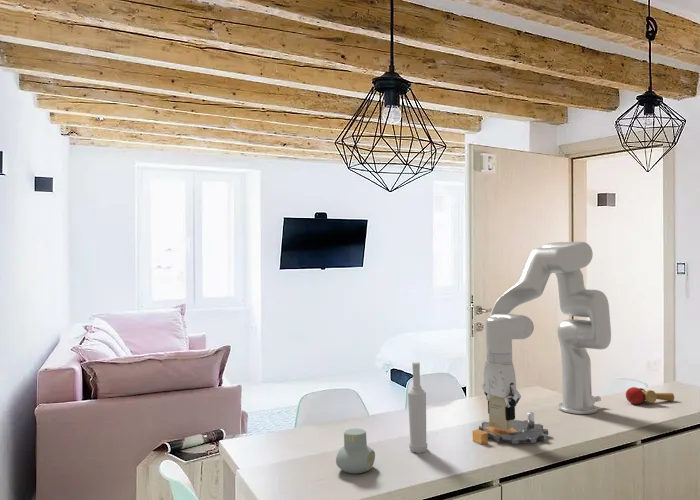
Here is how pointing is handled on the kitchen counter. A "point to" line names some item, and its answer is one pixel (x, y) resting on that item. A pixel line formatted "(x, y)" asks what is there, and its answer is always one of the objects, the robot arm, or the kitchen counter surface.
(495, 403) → the skincare box
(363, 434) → the air freshener
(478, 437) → the wooden block
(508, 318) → the robot arm
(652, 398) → the kendama
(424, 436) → the bottle
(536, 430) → the sprocket wheel
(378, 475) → the kitchen counter surface
